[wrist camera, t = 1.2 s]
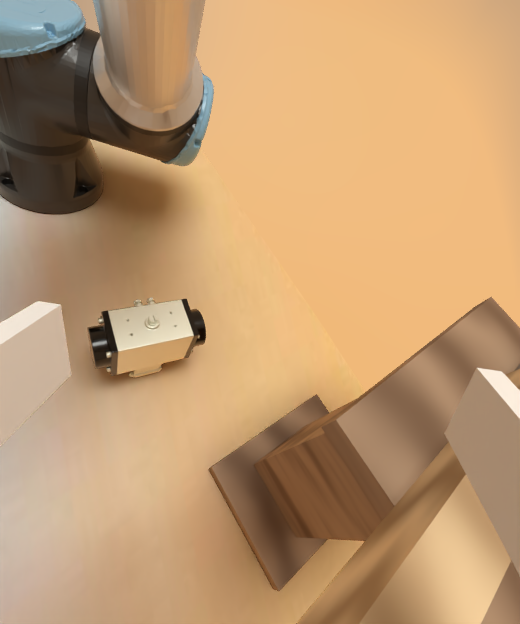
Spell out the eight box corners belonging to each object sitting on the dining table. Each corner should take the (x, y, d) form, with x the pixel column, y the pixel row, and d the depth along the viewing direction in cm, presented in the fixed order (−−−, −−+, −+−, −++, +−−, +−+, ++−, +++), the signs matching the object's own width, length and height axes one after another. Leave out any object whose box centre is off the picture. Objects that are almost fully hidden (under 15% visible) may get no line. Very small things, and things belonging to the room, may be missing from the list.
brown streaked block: (203, 949, 8) (242, 1121, 6) (147, 800, 9) (161, 899, 7) (554, 385, 25) (601, 370, 22) (524, 351, 26) (566, 333, 23)
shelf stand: (266, 596, 36) (534, 712, 13) (201, 473, 40) (324, 402, 17) (375, 481, 47) (621, 438, 24) (316, 394, 51) (482, 287, 28)
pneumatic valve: (192, 368, 46) (214, 327, 36) (97, 393, 40) (94, 351, 30) (180, 333, 48) (198, 284, 38) (88, 351, 42) (83, 300, 33)
